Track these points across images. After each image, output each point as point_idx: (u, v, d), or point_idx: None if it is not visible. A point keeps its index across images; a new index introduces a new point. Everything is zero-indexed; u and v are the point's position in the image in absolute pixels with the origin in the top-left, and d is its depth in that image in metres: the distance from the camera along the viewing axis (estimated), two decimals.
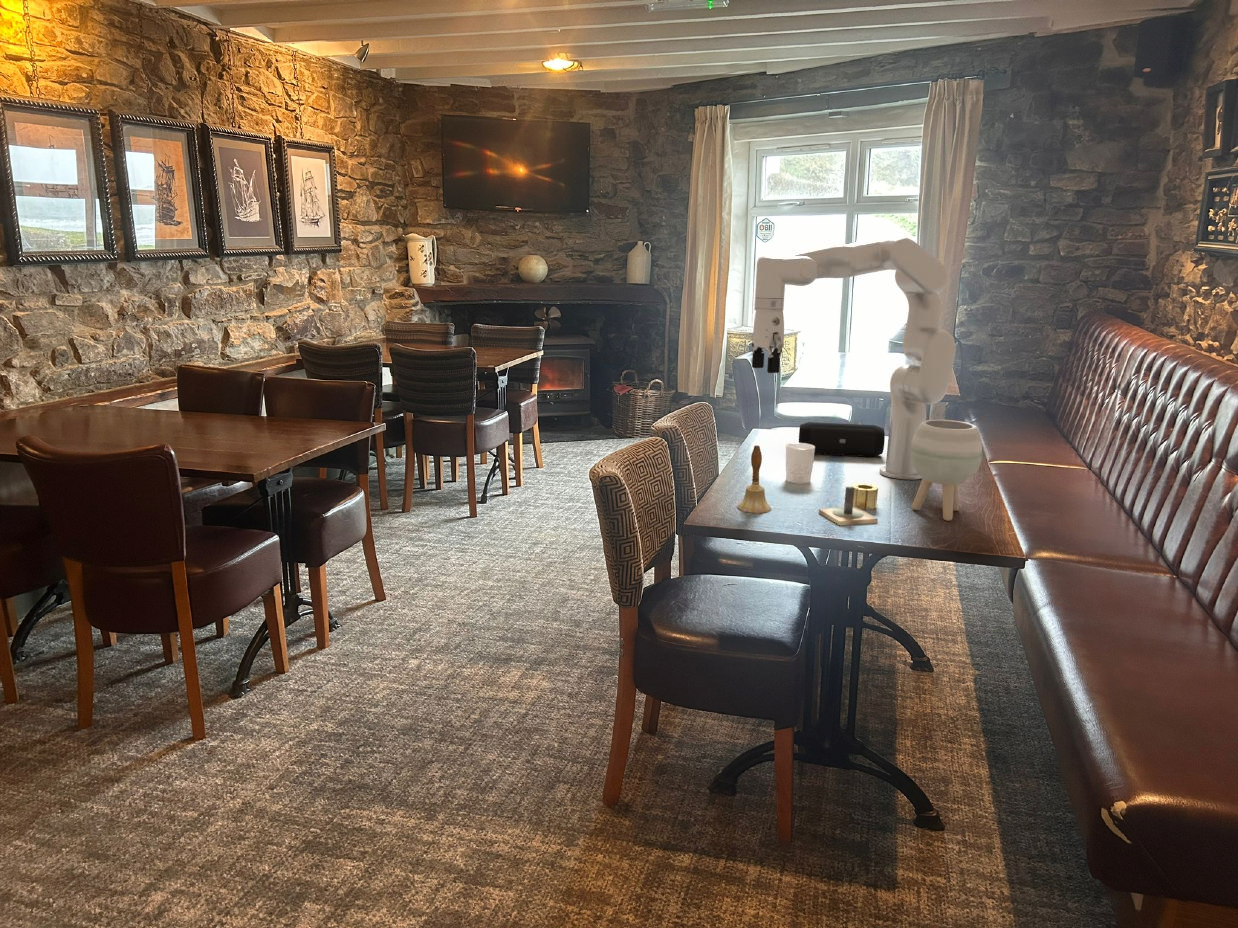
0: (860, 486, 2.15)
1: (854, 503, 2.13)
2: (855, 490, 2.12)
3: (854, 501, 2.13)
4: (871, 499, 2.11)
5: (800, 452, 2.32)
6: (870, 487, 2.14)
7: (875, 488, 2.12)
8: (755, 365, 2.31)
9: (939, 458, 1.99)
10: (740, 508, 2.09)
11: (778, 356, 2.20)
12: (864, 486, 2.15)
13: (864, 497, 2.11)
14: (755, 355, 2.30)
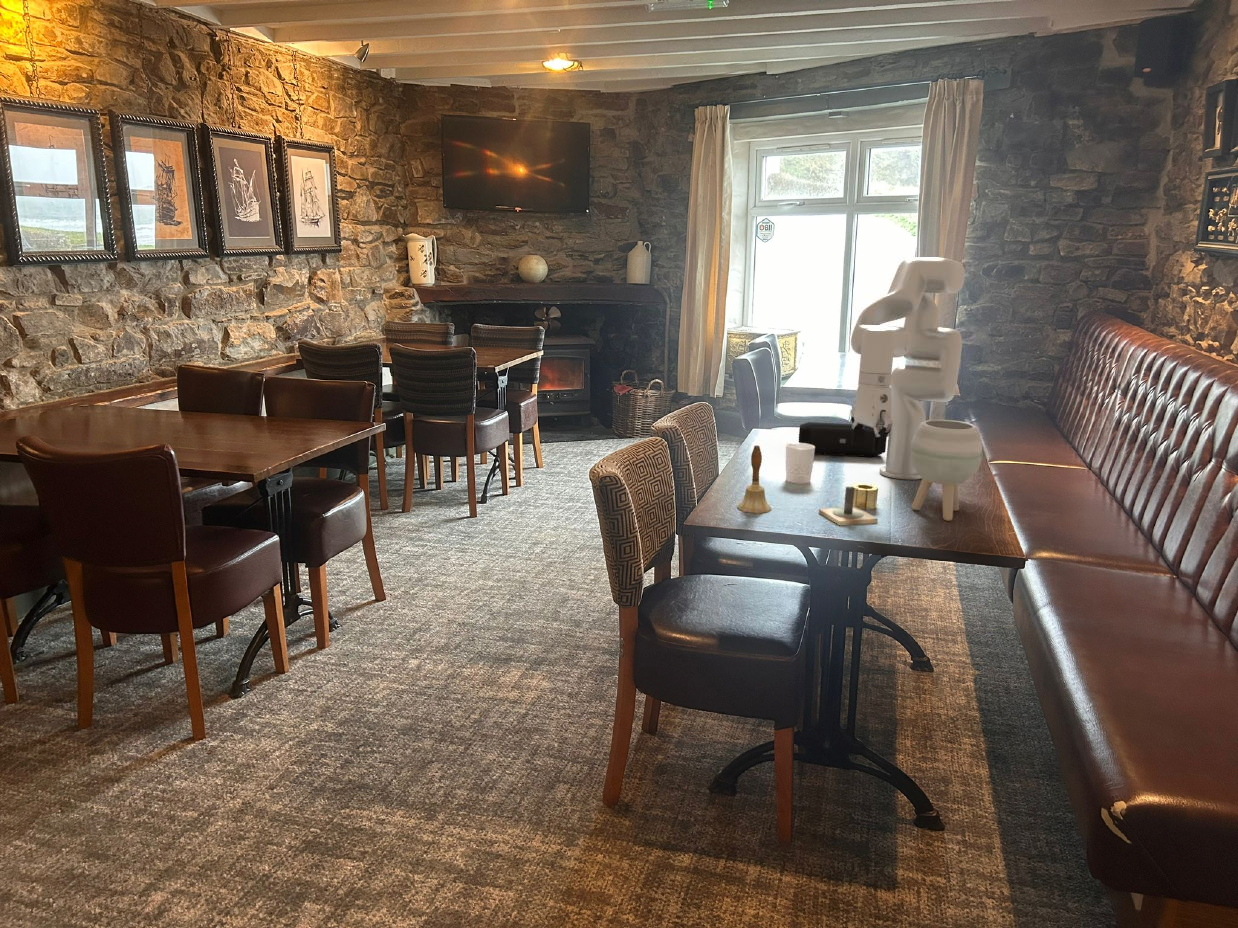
0: (860, 486, 2.15)
1: (854, 503, 2.13)
2: (855, 490, 2.12)
3: (854, 501, 2.13)
4: (871, 499, 2.11)
5: (800, 452, 2.32)
6: (870, 487, 2.14)
7: (875, 488, 2.12)
8: (855, 442, 2.14)
9: (939, 458, 1.99)
10: (740, 508, 2.09)
11: (885, 435, 2.04)
12: (864, 486, 2.15)
13: (864, 497, 2.11)
14: (855, 431, 2.14)
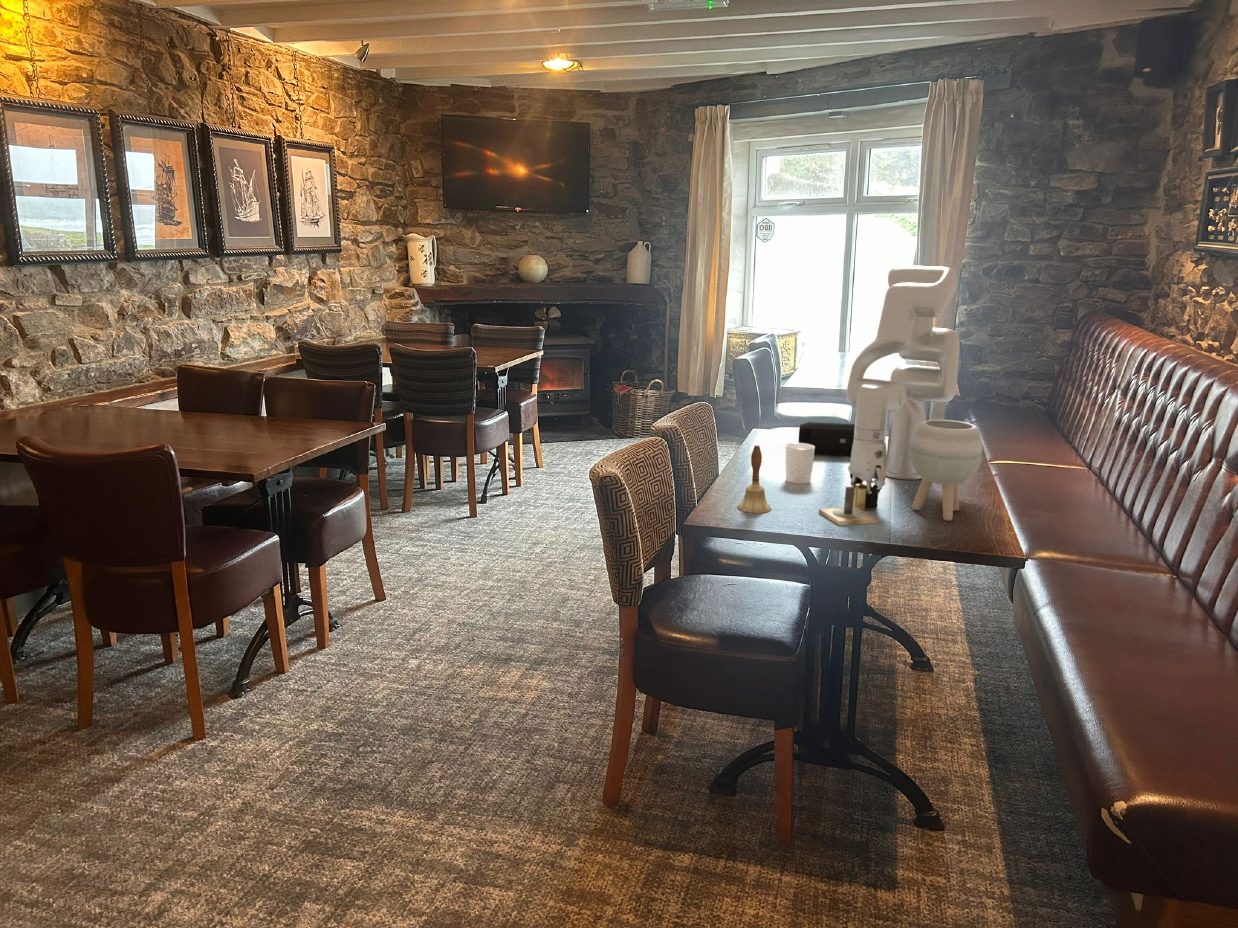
0: (860, 486, 2.15)
1: (854, 503, 2.13)
2: (855, 490, 2.12)
3: (854, 501, 2.13)
4: None
5: (800, 452, 2.32)
6: None
7: None
8: None
9: (940, 458, 1.99)
10: (740, 508, 2.09)
11: (877, 492, 2.09)
12: (864, 486, 2.15)
13: (864, 497, 2.11)
14: None
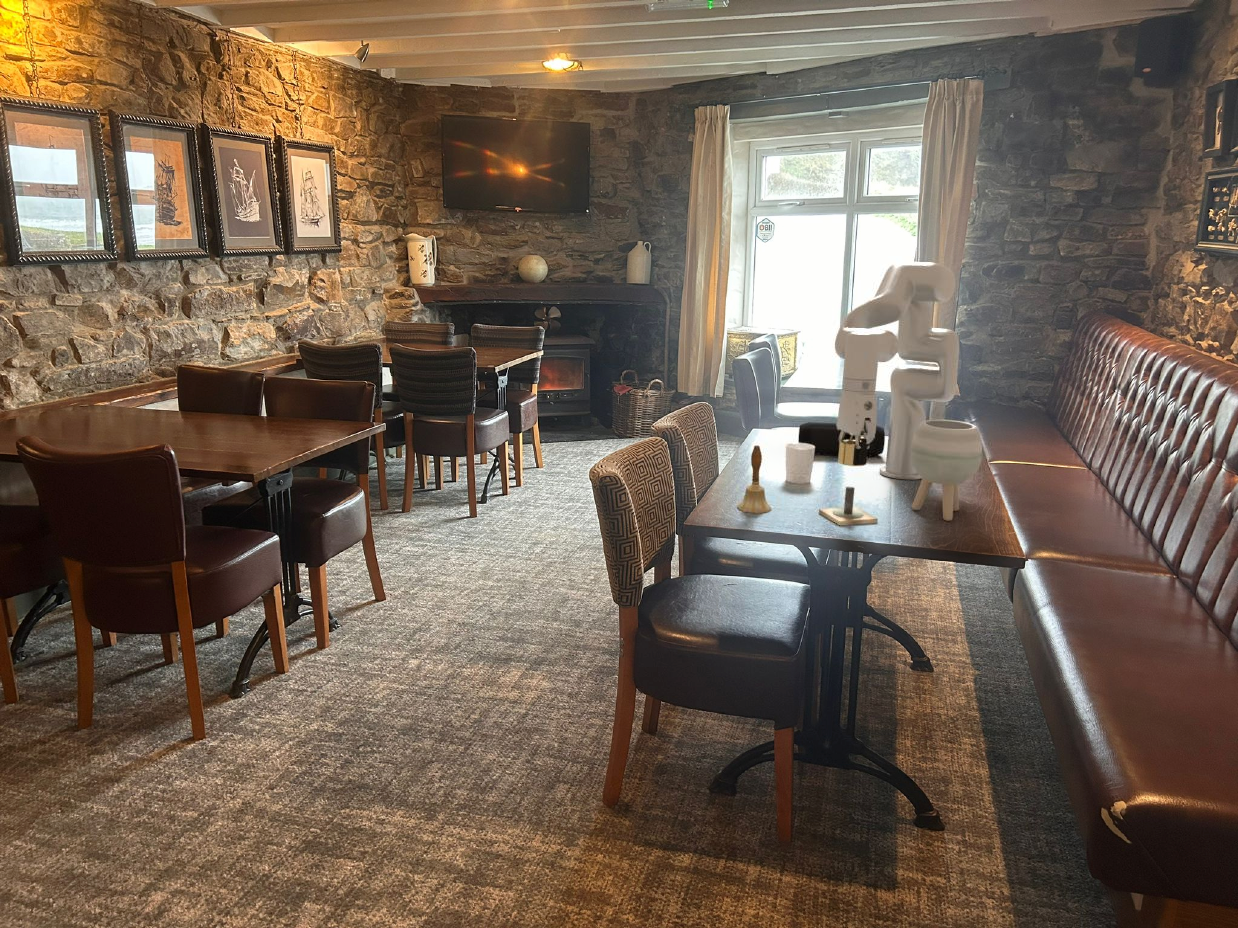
0: (848, 442, 2.02)
1: (842, 459, 2.00)
2: (843, 445, 1.99)
3: (842, 457, 2.00)
4: None
5: (800, 452, 2.32)
6: None
7: None
8: None
9: (939, 458, 1.99)
10: (740, 508, 2.09)
11: (866, 447, 1.96)
12: (853, 442, 2.02)
13: (852, 453, 1.98)
14: None
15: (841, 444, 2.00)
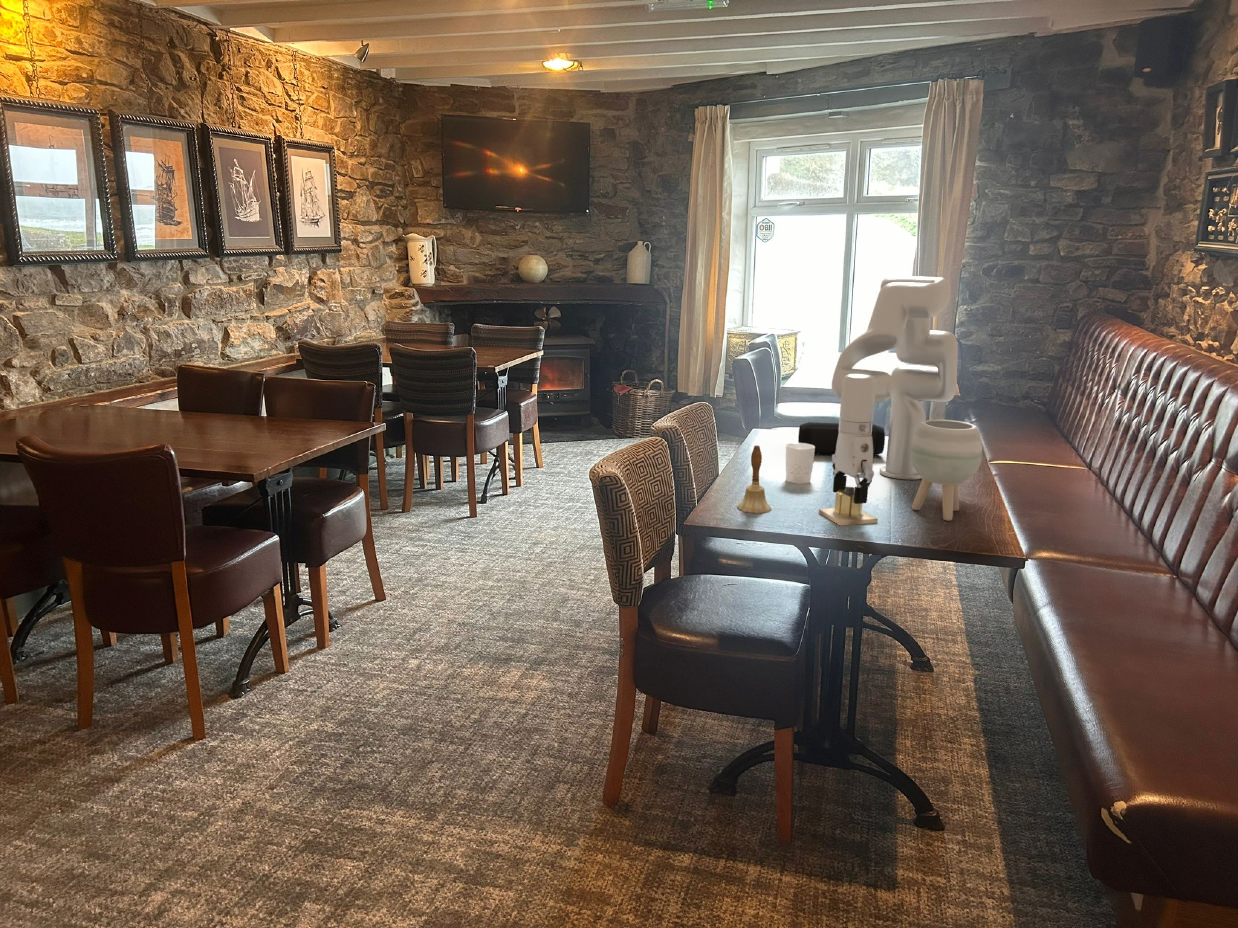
0: (844, 492, 2.05)
1: (838, 510, 2.03)
2: (839, 496, 2.02)
3: (838, 508, 2.03)
4: (856, 506, 2.01)
5: (800, 452, 2.32)
6: None
7: None
8: (836, 489, 2.07)
9: (939, 458, 1.99)
10: (740, 508, 2.09)
11: (867, 486, 1.97)
12: None
13: (848, 503, 2.01)
14: (837, 479, 2.07)
15: (837, 495, 2.03)
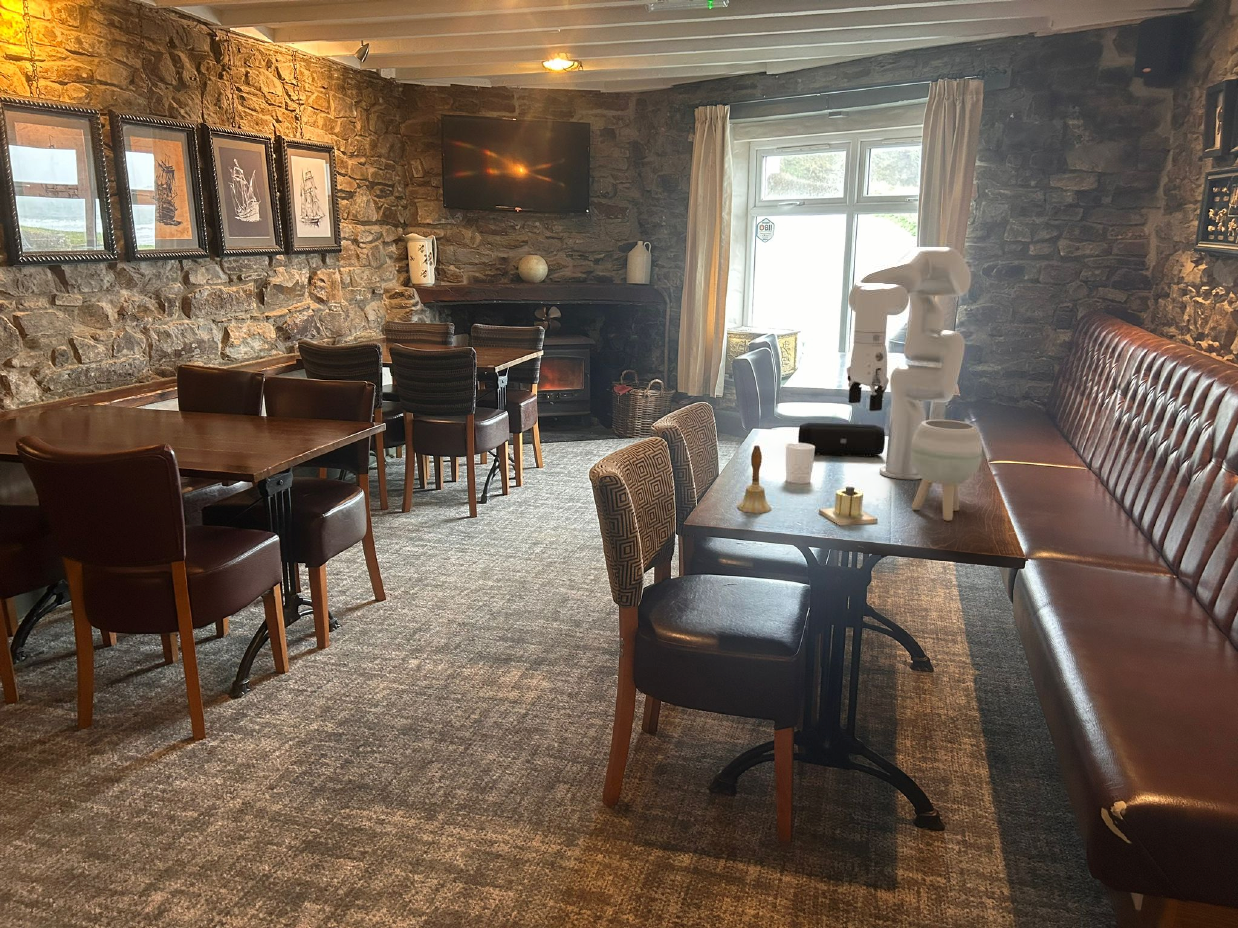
0: (844, 492, 2.05)
1: (838, 510, 2.03)
2: (839, 496, 2.02)
3: (838, 508, 2.03)
4: (856, 506, 2.01)
5: (800, 452, 2.32)
6: (855, 493, 2.04)
7: (860, 494, 2.02)
8: (852, 400, 2.17)
9: (939, 458, 1.99)
10: (740, 508, 2.09)
11: (881, 393, 2.07)
12: None
13: (848, 503, 2.01)
14: (852, 390, 2.17)
15: (837, 495, 2.03)
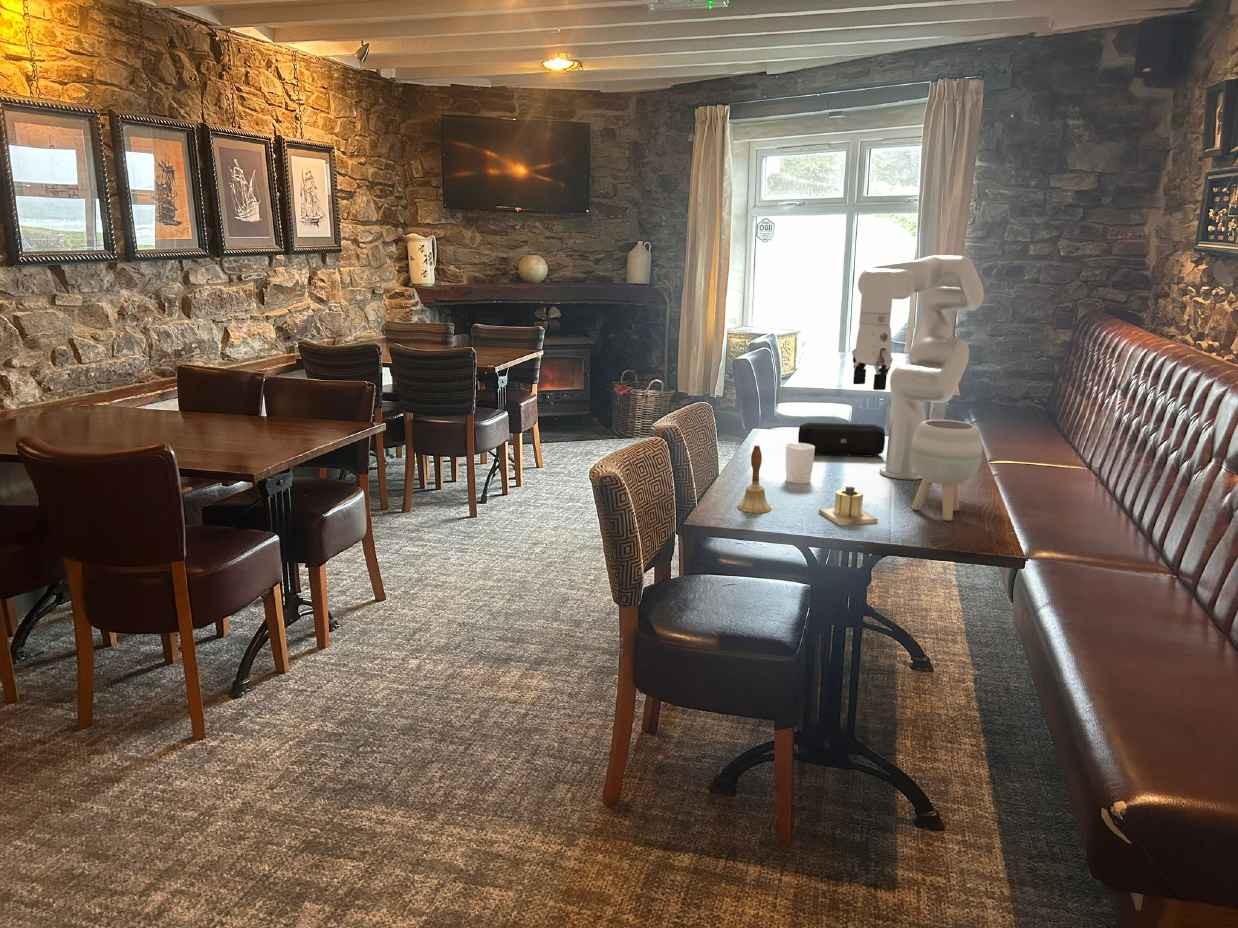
0: (844, 492, 2.05)
1: (838, 510, 2.03)
2: (839, 496, 2.02)
3: (838, 508, 2.03)
4: (856, 506, 2.01)
5: (800, 452, 2.32)
6: (855, 493, 2.04)
7: (860, 494, 2.02)
8: (857, 381, 2.24)
9: (939, 458, 1.99)
10: (740, 508, 2.09)
11: (885, 373, 2.14)
12: None
13: (848, 503, 2.01)
14: (857, 371, 2.24)
15: (837, 495, 2.03)
